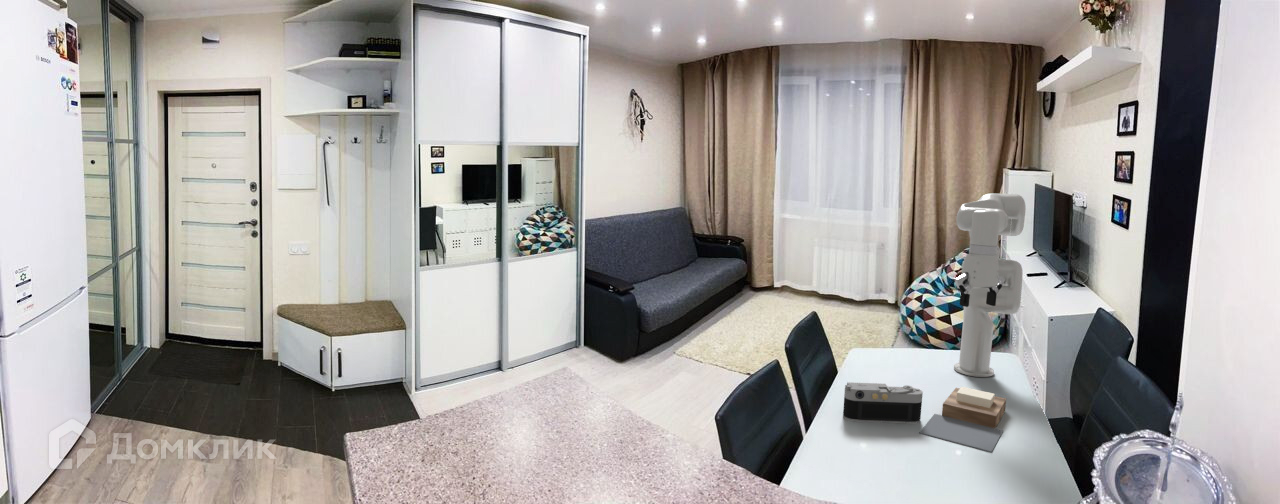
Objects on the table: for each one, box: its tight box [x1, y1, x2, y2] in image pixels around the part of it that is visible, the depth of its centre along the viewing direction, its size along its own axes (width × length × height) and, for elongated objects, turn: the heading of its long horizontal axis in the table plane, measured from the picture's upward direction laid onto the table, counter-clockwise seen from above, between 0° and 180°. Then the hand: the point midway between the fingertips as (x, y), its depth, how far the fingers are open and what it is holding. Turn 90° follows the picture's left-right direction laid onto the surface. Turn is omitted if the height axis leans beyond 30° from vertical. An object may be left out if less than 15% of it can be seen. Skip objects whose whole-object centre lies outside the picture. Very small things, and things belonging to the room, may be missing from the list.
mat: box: [918, 413, 1004, 453], centre depth 182 cm, size 16×18×1 cm
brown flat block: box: [941, 387, 1007, 429], centre depth 194 cm, size 16×14×4 cm
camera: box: [842, 381, 924, 425], centre depth 191 cm, size 22×10×10 cm, turn 85°
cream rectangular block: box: [956, 386, 996, 408], centre depth 193 cm, size 6×9×2 cm, turn 52°
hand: (977, 305), depth 202 cm, fingers open, 9 cm apart
